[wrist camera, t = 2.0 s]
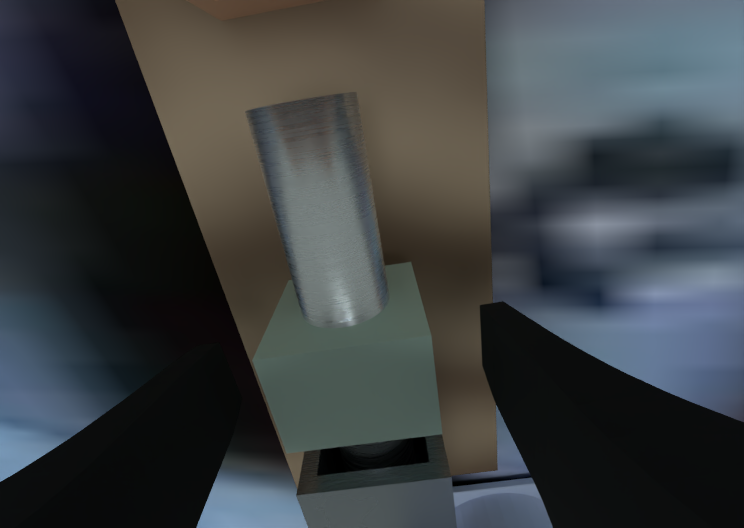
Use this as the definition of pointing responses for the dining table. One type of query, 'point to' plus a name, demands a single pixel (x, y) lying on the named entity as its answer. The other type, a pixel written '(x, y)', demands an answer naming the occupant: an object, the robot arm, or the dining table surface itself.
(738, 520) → the robot arm
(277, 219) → the tube
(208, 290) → the dining table surface
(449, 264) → the tube stand
